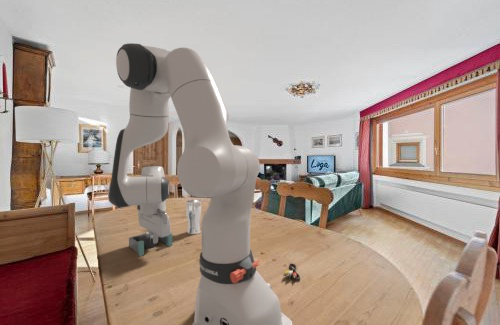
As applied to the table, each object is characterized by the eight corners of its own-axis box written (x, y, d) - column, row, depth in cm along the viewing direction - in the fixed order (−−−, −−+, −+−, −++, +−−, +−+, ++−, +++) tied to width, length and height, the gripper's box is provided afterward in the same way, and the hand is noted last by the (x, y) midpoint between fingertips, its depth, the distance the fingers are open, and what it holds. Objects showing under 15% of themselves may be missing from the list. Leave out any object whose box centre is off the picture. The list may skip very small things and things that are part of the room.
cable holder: (172, 245, 86) (172, 233, 86) (139, 256, 77) (139, 242, 76) (158, 237, 94) (158, 226, 94) (127, 246, 85) (127, 234, 85)
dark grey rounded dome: (161, 245, 86) (160, 232, 86) (142, 250, 81) (142, 237, 81) (153, 240, 91) (153, 228, 91) (136, 245, 86) (136, 232, 86)
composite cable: (289, 265, 71) (289, 258, 71) (303, 268, 69) (303, 260, 69) (282, 281, 62) (282, 273, 62) (298, 285, 60) (298, 276, 60)
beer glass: (186, 235, 96) (185, 202, 96) (186, 230, 103) (186, 199, 103) (201, 234, 98) (201, 202, 98) (201, 229, 105) (200, 199, 104)
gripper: (174, 210, 78) (175, 247, 78) (150, 202, 91) (151, 233, 92) (157, 213, 73) (158, 253, 74) (135, 204, 87) (135, 237, 87)
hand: (154, 242), depth 83 cm, fingers closed
